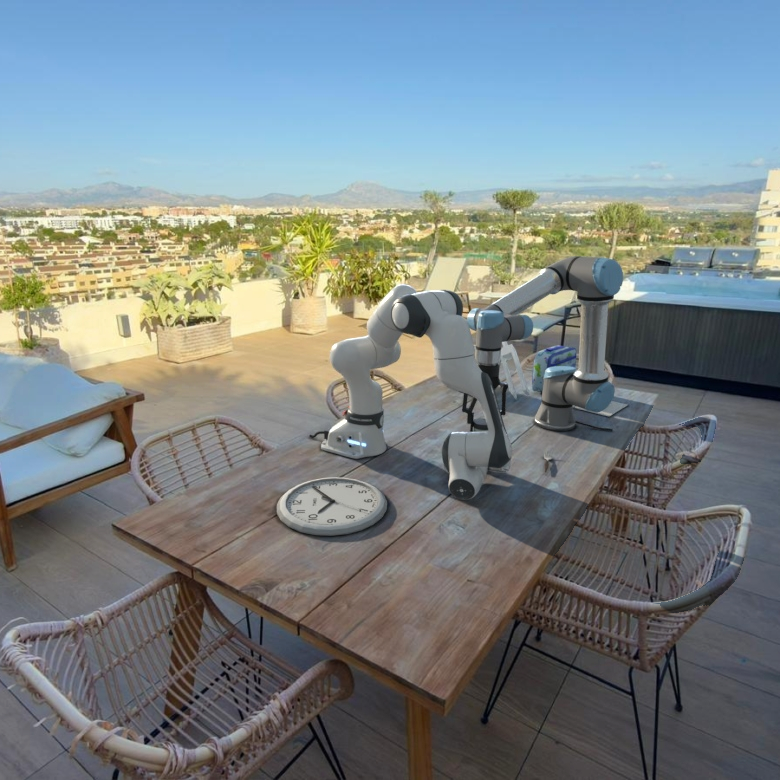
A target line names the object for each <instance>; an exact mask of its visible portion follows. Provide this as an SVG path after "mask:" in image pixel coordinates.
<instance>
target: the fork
mask: <svg viewBox="0 0 780 780" xmlns="http://www.w3.org/2000/svg"><path fill="white" fill-rule="evenodd" d="M553 451H554V450H553V448H552V451H551V449H549V451H547V450H545V452H544V455H543V459H545V460H546V461H545V463H544V473H547V470H548V468H549V461H551V460H553Z"/></svg>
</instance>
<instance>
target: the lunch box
mask: <svg viewBox="0 0 780 780" xmlns="http://www.w3.org/2000/svg"><path fill="white" fill-rule="evenodd" d="M576 362H577V348H576V347H571V346H565V345H553V346H550V347H546V348H545V349H542V350H539V351H538V352H537V353H536V354H535V356H534V358H533V365H532V376H531V377H532V378H531V390H532V391H533V392H537V393H541V394H542V391H543V380H544V379H543V378H544V375H545V370H546V369H547V368H549V367H555V366H570V367H575V368H576V364H577V363H576Z"/></svg>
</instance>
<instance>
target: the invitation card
mask: <svg viewBox="0 0 780 780" xmlns="http://www.w3.org/2000/svg"><path fill="white" fill-rule="evenodd" d="M628 406H629V404H627V403H623V402H618V401H614V400H612V401H611V403H610V404H609V405H608V407H607V408H606V409H604V410H603V411H601V412H593V411H587V410H586V409H583V408H580V407H577V406H574V407H573V409H575V410H581V411H584V412H587V413H593V414H596V415H600V416H604V417H608V418H609V417H611V416H613V415H614V414H616V413H617V412H619V411H621V410H623V409H624V408H626V407H628Z"/></svg>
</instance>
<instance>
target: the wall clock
mask: <svg viewBox="0 0 780 780" xmlns="http://www.w3.org/2000/svg"><path fill="white" fill-rule="evenodd" d="M387 509H388V500H387V498H386V496H385V494H384V493H383V492H382V491H381V490H380V489H379V488H377V487H376V486H374V485H372V484H371V483H369V482H365V481H362V480H359V479H355V478H349V477H338V476H337V477H335V476H333V477H332V476H331V477H322V478H317V479H312V480H307V481H305V482H302V483H299V484H297V485H295V486H293V487H292V488H290V489H288V490H287V491H286V492H285V493H284V494H283V495H281V496H280V498H279V499H278V502H277V503H276V515H277V517H278V518H279V520H280V521H281V522H282V523H283V524H285V525H286V526H287V527H288V528H290V529H293V530H295V531H297V532H299V533H303V534H308V535H312V536H327V537H328V536H329V537H331V536H332V537H333V536H342V535H350V534H352V533H356V532H361V531H363V530H366V529H368V528H369V527H372V526H373V525H375V524H376V523H378V522H379V521H380V520H381V519H382V518H383V517H384V516H385V514H386V512H387Z"/></svg>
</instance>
